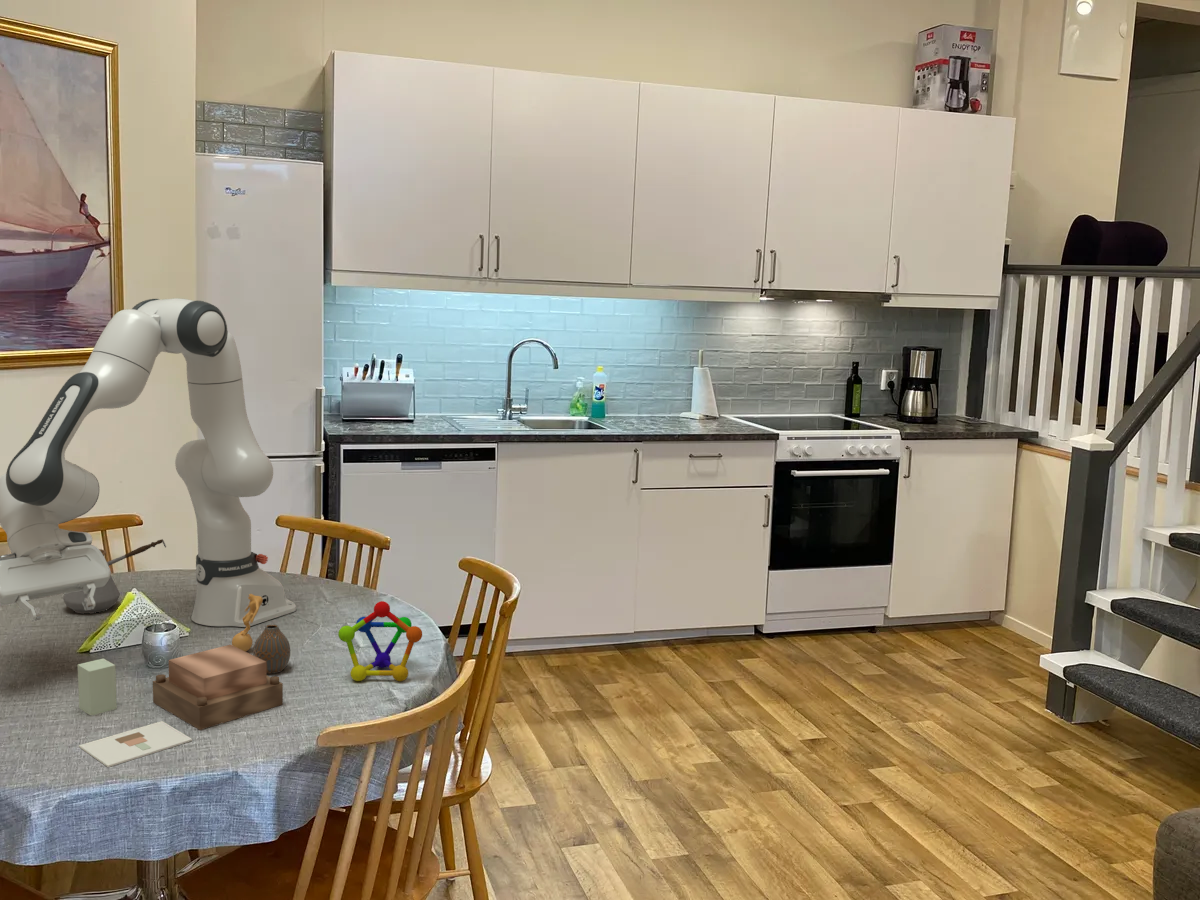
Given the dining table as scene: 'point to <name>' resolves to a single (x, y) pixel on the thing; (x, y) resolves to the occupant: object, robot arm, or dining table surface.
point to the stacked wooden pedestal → (216, 687)
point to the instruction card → (135, 743)
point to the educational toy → (382, 657)
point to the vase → (272, 649)
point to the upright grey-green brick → (97, 686)
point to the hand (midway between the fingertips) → (64, 613)
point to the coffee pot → (102, 588)
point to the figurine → (247, 624)
